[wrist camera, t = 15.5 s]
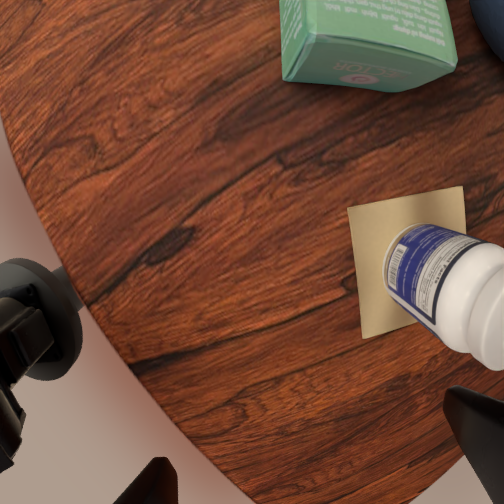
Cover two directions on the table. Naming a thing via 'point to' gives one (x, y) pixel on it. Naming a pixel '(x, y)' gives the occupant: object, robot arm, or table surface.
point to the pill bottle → (450, 288)
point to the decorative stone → (490, 23)
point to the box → (366, 42)
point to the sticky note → (379, 238)
